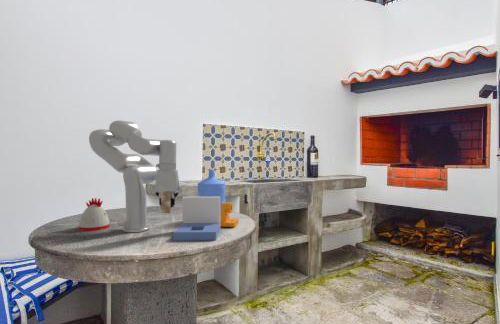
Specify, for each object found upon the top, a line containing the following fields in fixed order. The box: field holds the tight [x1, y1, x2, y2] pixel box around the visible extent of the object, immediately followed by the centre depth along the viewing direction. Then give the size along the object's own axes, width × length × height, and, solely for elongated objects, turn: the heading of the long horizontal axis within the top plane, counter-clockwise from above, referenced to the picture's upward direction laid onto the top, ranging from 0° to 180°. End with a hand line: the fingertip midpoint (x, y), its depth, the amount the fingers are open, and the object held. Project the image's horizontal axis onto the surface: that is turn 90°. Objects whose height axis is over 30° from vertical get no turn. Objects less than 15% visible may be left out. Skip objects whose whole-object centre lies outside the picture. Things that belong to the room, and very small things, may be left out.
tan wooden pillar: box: [160, 191, 174, 214], centre depth 142 cm, size 4×6×10 cm, turn 0°
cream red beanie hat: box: [78, 197, 111, 232], centre depth 155 cm, size 14×14×15 cm
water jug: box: [196, 169, 226, 214], centre depth 173 cm, size 16×16×28 cm
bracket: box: [220, 201, 239, 228], centre depth 158 cm, size 11×7×12 cm, turn 168°
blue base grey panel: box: [172, 196, 221, 242], centre depth 140 cm, size 18×20×16 cm
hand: (167, 206), depth 142 cm, fingers closed on tan wooden pillar, 4 cm apart
